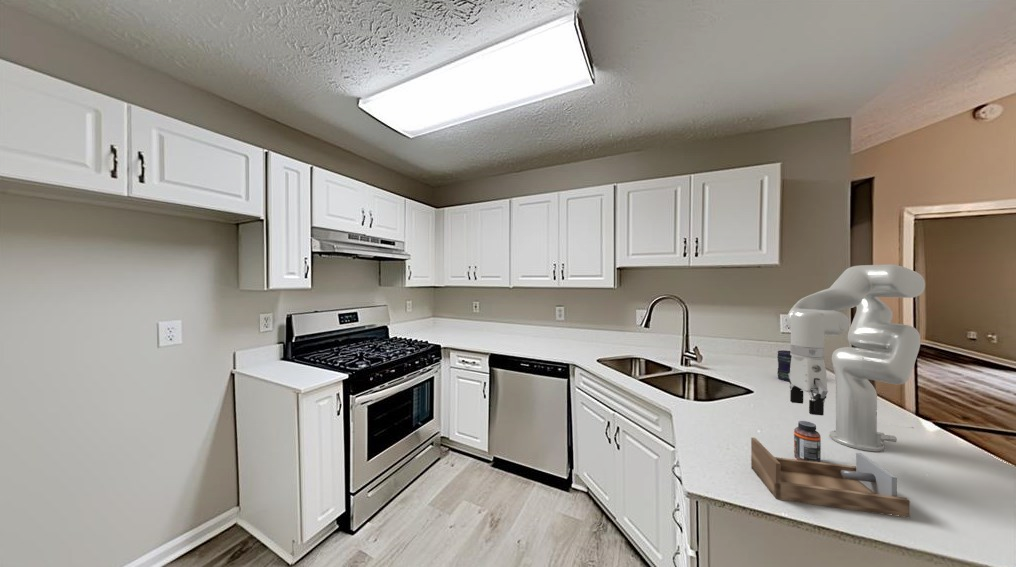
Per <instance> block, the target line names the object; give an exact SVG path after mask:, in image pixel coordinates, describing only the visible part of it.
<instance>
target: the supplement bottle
mask: <svg viewBox="0 0 1016 567" xmlns="http://www.w3.org/2000/svg"><path fill="white" fill-rule="evenodd" d="M797 423H798V424H797V425H798V426H797V427H795V428H794V429H793V430H794V431H793V433H794V434H793V441H794V442H793V446H794V447H793V449H794V450H793V454H794V457H795V459H796V460H805V461H813V462H821V458H822V457H821V455H822V454H821V453H822V452H821V450H822V448H821V447H822V445H821V444H822V443H821V442H822V441H821V434H820V433H819V432H818V431H817V426H816V424H815V423H814V422H810V421H808V420H807V421H806V420H799V421H798V422H797Z"/></svg>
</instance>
